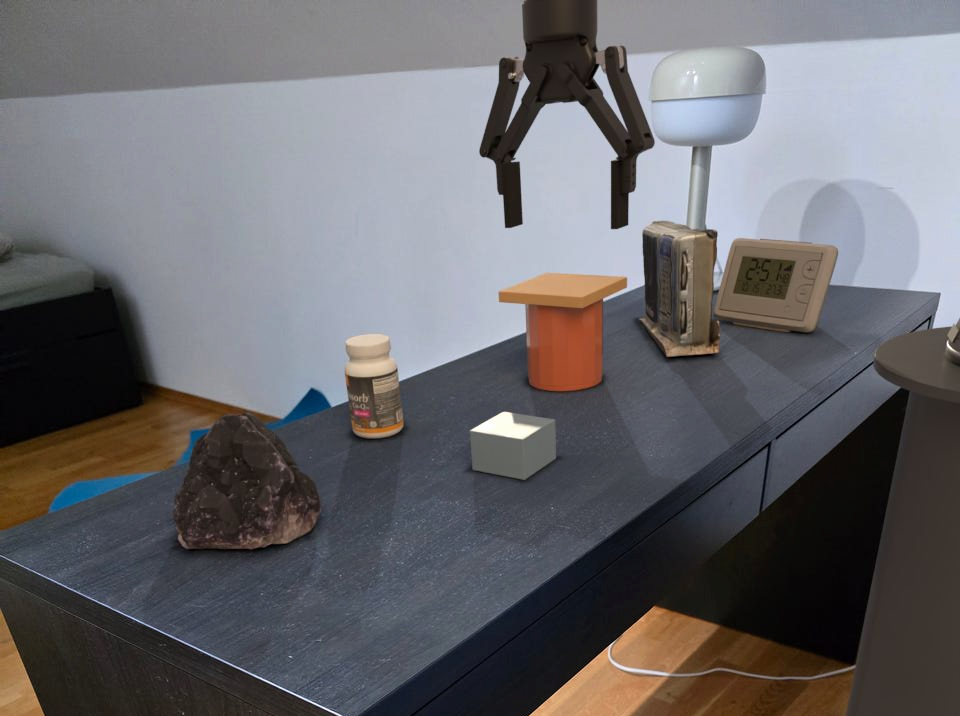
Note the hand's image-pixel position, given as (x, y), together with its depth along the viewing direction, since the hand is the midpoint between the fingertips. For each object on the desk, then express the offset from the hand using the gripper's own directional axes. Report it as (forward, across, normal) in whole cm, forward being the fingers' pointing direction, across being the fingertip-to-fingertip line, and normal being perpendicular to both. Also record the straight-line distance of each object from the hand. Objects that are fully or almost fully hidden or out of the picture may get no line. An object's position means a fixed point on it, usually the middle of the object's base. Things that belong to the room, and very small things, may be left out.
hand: (564, 227), depth 99 cm
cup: (+17, 0, 0) cm, 17 cm away
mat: (+7, 0, 0) cm, 7 cm away
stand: (+17, +9, -26) cm, 32 cm away
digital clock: (+18, +14, +33) cm, 40 cm away
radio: (+18, +4, +22) cm, 28 cm away
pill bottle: (+17, -10, -24) cm, 31 cm away
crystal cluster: (+17, -5, -48) cm, 51 cm away
